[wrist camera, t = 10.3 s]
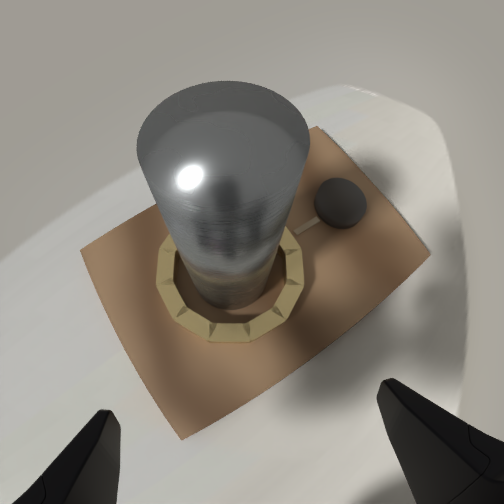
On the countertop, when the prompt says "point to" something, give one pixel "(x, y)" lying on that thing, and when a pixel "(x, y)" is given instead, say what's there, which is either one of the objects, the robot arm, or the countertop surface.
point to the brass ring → (231, 331)
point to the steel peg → (225, 182)
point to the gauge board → (302, 315)
